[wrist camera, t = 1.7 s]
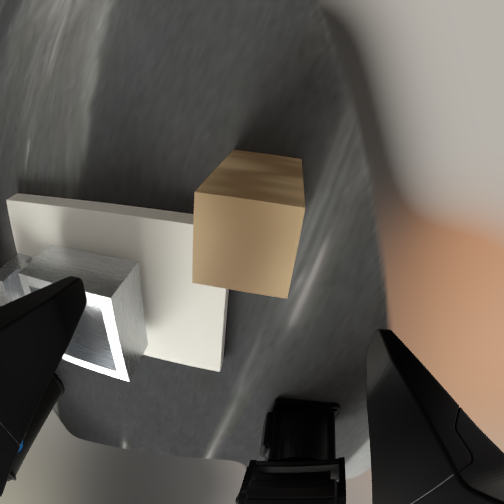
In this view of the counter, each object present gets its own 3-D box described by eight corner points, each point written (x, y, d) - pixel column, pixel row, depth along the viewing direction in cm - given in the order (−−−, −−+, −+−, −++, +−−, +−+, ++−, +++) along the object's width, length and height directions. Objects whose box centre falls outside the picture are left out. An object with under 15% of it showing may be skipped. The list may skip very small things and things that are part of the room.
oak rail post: (301, 159, 18) (305, 207, 11) (291, 220, 20) (287, 298, 13) (233, 149, 19) (194, 191, 12) (228, 211, 20) (192, 282, 14)
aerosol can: (64, 402, 38) (9, 507, 20) (20, 372, 37) (-41, 469, 19) (65, 377, 34) (-4, 500, 16) (16, 343, 33) (-60, 453, 15)
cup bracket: (144, 254, 21) (110, 298, 17) (152, 335, 25) (129, 381, 20) (12, 229, 22) (-26, 258, 17) (32, 300, 26) (2, 333, 21)
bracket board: (235, 220, 21) (230, 230, 19) (223, 359, 27) (220, 371, 26) (17, 193, 22) (6, 199, 20) (46, 312, 28) (38, 321, 27)
